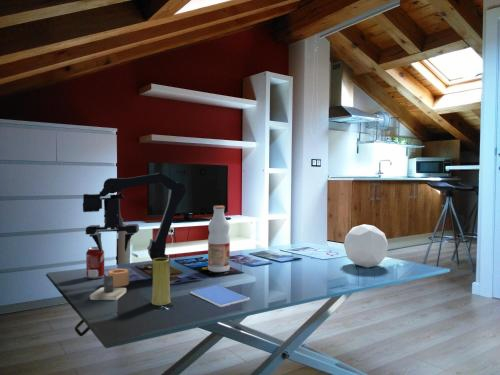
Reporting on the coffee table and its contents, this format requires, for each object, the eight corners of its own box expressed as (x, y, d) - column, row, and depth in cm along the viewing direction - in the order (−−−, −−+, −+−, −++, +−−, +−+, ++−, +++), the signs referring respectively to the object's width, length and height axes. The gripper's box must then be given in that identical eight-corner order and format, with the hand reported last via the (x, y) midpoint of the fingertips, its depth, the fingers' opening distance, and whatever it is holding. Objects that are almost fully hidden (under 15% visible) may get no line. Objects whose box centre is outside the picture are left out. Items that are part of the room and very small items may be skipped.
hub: (130, 281, 155) (130, 269, 155) (124, 287, 148) (124, 273, 148) (113, 281, 155) (113, 268, 155) (105, 286, 148) (105, 273, 148)
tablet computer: (251, 301, 134) (251, 297, 134) (220, 309, 126) (220, 305, 126) (217, 288, 149) (217, 284, 149) (188, 294, 141) (188, 291, 141)
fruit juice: (205, 268, 177) (205, 205, 176) (224, 266, 181) (224, 204, 180) (212, 273, 168) (212, 207, 167) (233, 271, 172) (233, 206, 171)
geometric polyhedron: (373, 283, 178) (383, 253, 166) (333, 262, 188) (339, 233, 175) (389, 257, 190) (399, 227, 178) (350, 238, 199) (358, 209, 187)
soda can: (98, 280, 157) (98, 249, 157) (83, 279, 159) (82, 249, 158) (107, 275, 164) (107, 246, 163) (92, 274, 165) (92, 246, 165)
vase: (153, 299, 133) (152, 257, 133) (171, 299, 134) (171, 257, 133) (150, 306, 127) (149, 261, 126) (169, 305, 128) (169, 261, 127)
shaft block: (126, 292, 142) (126, 273, 141) (116, 300, 133) (116, 280, 132) (101, 291, 142) (101, 273, 142) (90, 299, 133) (89, 280, 133)
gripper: (140, 208, 161) (141, 246, 162) (92, 209, 159) (94, 248, 160) (135, 211, 150) (136, 252, 151) (84, 212, 148) (85, 254, 149)
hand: (113, 251), depth 153 cm, fingers open, 9 cm apart
